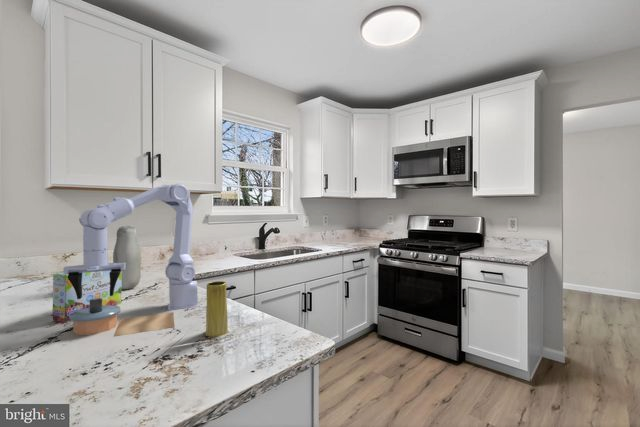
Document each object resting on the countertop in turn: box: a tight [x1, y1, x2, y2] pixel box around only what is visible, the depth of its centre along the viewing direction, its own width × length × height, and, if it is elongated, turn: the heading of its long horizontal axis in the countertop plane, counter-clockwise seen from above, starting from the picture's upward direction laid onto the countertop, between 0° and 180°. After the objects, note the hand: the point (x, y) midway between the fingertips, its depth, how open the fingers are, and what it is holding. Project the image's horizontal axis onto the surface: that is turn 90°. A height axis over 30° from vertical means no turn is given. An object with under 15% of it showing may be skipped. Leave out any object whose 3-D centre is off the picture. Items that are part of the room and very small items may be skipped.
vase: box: [204, 280, 229, 338], centre depth 87 cm, size 6×6×14 cm
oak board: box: [113, 311, 175, 337], centre depth 95 cm, size 15×15×1 cm
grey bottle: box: [112, 225, 142, 290], centre depth 138 cm, size 10×10×28 cm
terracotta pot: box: [72, 314, 118, 336], centre depth 91 cm, size 10×10×4 cm
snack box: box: [52, 269, 122, 323], centre depth 107 cm, size 21×6×15 cm, turn 168°
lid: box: [70, 298, 121, 322], centre depth 91 cm, size 12×12×4 cm
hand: (96, 296), depth 91 cm, fingers open, 7 cm apart
